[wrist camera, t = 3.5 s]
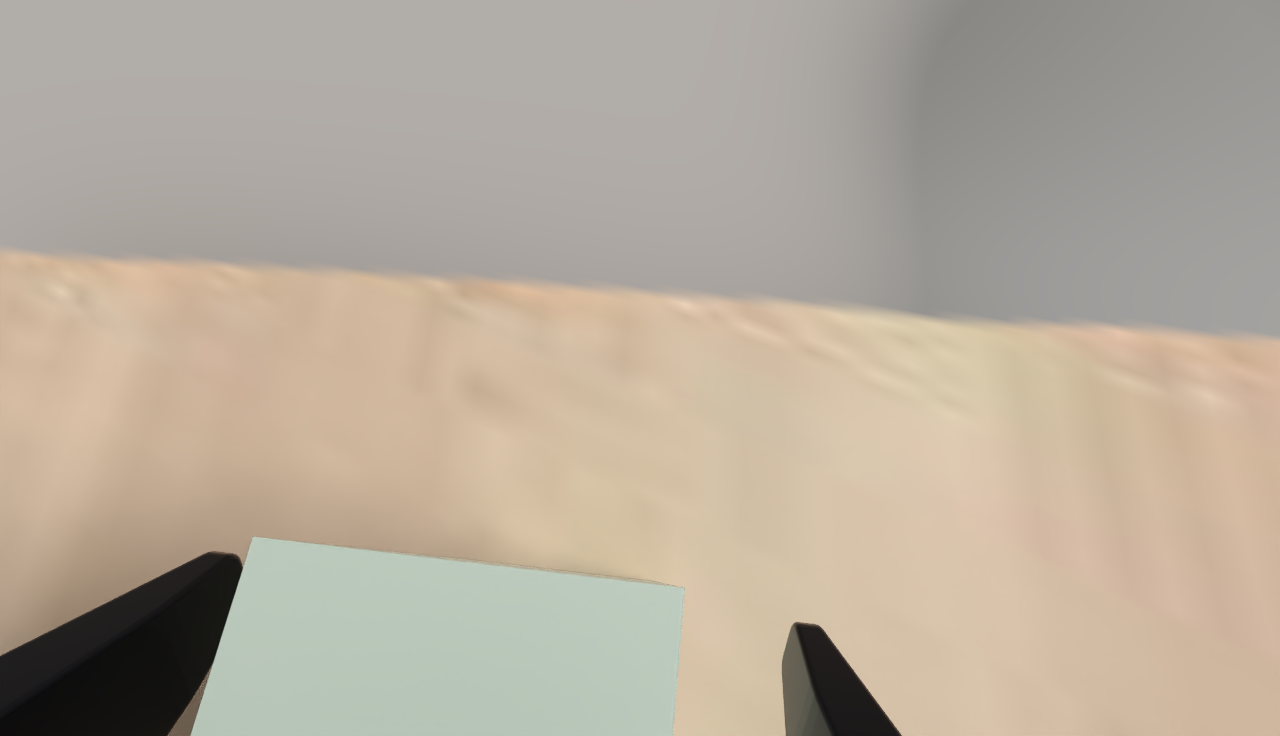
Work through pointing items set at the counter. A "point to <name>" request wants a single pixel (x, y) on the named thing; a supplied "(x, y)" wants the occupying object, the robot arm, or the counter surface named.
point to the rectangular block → (439, 648)
